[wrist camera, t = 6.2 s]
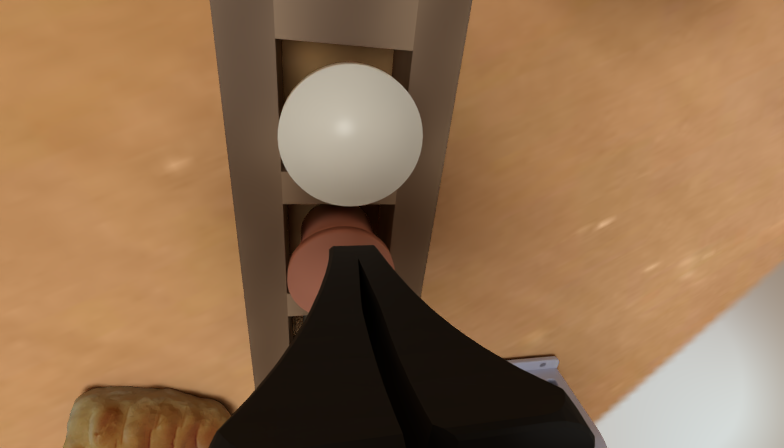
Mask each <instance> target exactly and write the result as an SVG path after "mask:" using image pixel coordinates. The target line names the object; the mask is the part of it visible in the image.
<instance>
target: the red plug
mask: <svg viewBox="0 0 784 448" xmlns="http://www.w3.org/2000/svg"><path fill="white" fill-rule="evenodd" d="M354 245H374V246H375V247H376V248H377V249H378V250H379V251H380V253H381V254H382V255H383V257H384V258H385V259H386V260H387V262H388V263H389V264H390V265H391V267H392V268H393V269H394V270H395V268H394V264H393V260H392V257H391V254H390V252H389V250H388V248H387V246H386V245H385V243H384V242H383V241H382V240H381V239H380V238H378V237H377V236H376V235H374V234H373V231H372V227H371V224H370V220H369V218H368V216H367V215H366V213H365V212H364V211H363V210H362V209H361V208H360V207H358V206H339V205H333V204H320V205H318V206H316V207H314V208H313V209H312V210H311V211H310V212H309V213H308V214H307V215H306V217H305V218H304V220H303V223H302V227H301V243H300V244H299V245H298V247H297V248H296V249H295V250H294V252H293V254H292V256H291V258H290V261H289V265H288V275H287V284H288V289H289V292H290V294H291V296H292V298H293V299H294V301H295V302H296V303H297V304H298V305H299V306H300V307H301V308H302V309H304V310H305V311H307V312H308V313H309V311H310V309H311V307H312V305H313V303H314V300H315V298H316V296H317V294H318V292H319V289H320V286H321V284H322V281H323V278H324V275H325V272H326V269H327V265H328V260H329V249H330V248H331V247H332V246H354Z"/></svg>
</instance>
